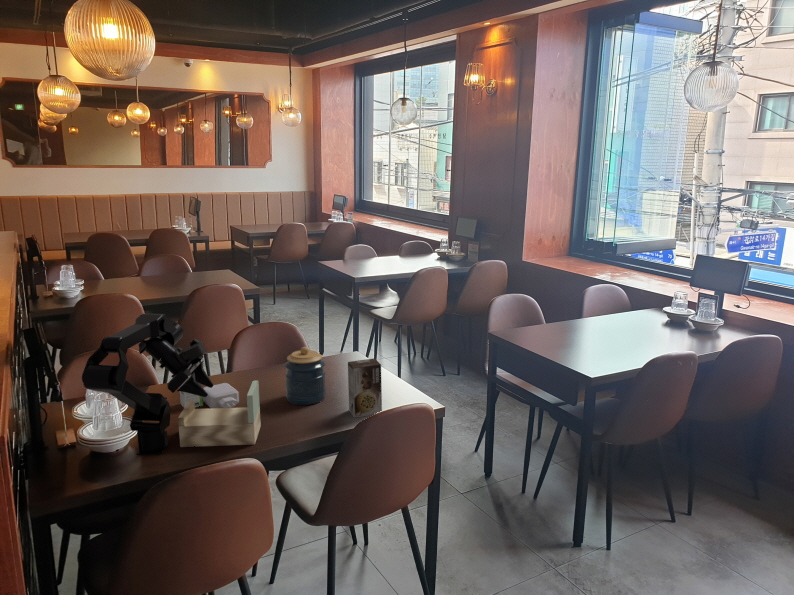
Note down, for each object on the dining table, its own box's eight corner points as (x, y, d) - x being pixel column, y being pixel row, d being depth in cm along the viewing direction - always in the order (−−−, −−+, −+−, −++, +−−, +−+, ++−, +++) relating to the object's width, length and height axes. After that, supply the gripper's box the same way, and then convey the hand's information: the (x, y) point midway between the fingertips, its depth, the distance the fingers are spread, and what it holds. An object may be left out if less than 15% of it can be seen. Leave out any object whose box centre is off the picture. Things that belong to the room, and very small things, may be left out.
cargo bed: (180, 447, 167) (178, 417, 165) (190, 428, 178) (188, 401, 176) (254, 444, 168) (253, 415, 166) (260, 426, 180) (259, 398, 178)
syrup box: (185, 410, 191) (181, 366, 188) (180, 404, 196) (176, 360, 193) (203, 406, 195) (200, 362, 191) (198, 400, 199) (195, 357, 196)
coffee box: (375, 406, 195) (375, 357, 191) (382, 413, 189) (382, 363, 186) (348, 410, 192) (347, 361, 188) (354, 418, 186) (353, 367, 182)
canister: (321, 389, 209) (320, 339, 206) (329, 403, 197) (328, 350, 194) (283, 393, 205) (281, 343, 202) (289, 408, 193) (287, 354, 190)
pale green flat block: (248, 423, 167) (246, 395, 165) (254, 406, 178) (253, 380, 177) (253, 422, 167) (252, 395, 165) (259, 406, 178) (258, 380, 177)
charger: (218, 416, 187) (201, 401, 199) (246, 409, 192) (229, 395, 204) (217, 402, 186) (200, 387, 198) (246, 395, 191) (228, 382, 203)
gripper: (176, 343, 157) (223, 382, 160) (194, 324, 175) (235, 360, 178) (147, 373, 158) (194, 412, 161) (167, 351, 176) (209, 387, 179)
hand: (209, 391), depth 170 cm, fingers open, 7 cm apart
